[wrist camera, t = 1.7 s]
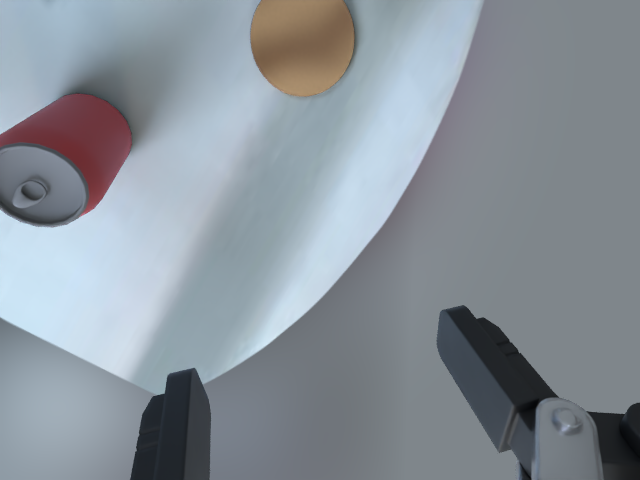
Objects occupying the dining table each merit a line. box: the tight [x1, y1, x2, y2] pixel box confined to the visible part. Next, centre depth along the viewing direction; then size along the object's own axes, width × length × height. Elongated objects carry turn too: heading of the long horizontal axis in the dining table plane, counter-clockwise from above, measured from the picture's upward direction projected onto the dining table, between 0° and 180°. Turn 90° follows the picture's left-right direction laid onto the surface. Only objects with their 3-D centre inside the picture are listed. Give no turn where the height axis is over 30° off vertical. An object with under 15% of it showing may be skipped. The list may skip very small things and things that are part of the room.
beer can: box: [0, 93, 132, 227], centre depth 28 cm, size 7×7×12 cm
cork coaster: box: [250, 0, 354, 96], centre depth 33 cm, size 9×9×1 cm
